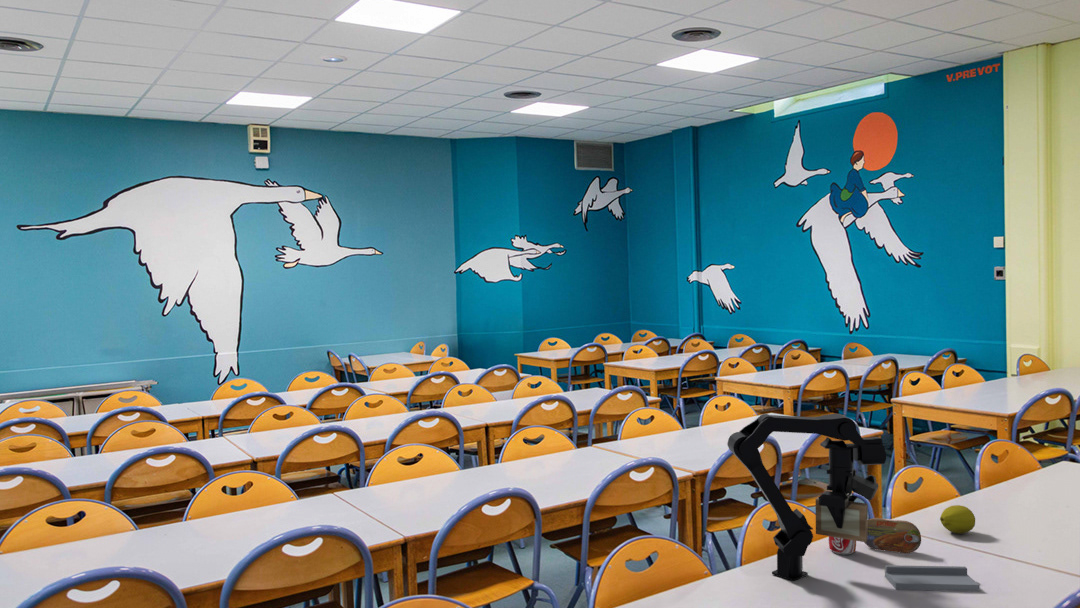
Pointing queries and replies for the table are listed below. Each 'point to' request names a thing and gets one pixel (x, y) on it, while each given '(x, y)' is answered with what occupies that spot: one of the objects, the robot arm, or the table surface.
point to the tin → (893, 535)
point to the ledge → (930, 578)
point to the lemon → (958, 519)
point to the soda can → (842, 545)
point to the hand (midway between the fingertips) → (841, 526)
